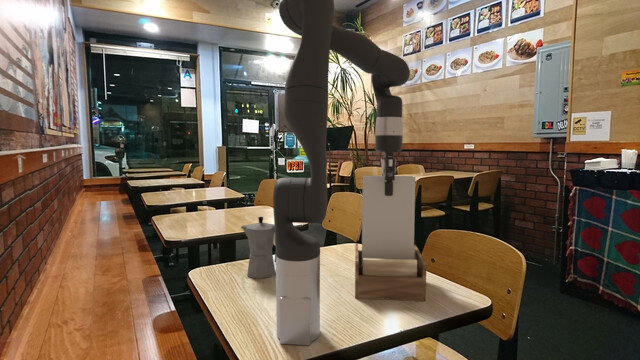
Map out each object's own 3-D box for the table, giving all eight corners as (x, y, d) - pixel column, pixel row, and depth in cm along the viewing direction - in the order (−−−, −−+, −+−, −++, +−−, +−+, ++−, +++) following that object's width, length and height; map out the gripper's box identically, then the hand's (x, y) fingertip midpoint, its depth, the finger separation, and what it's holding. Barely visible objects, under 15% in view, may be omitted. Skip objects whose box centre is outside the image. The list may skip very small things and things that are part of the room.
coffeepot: (235, 277, 108) (233, 218, 107) (248, 266, 118) (247, 213, 116) (283, 281, 105) (283, 221, 103) (293, 270, 114) (292, 215, 113)
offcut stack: (416, 298, 94) (417, 261, 93) (362, 295, 95) (363, 259, 94) (413, 292, 98) (414, 256, 97) (362, 290, 99) (362, 255, 98)
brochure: (410, 277, 105) (412, 175, 103) (413, 284, 100) (415, 176, 98) (361, 276, 106) (362, 175, 104) (362, 282, 101) (363, 176, 99)
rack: (425, 301, 92) (426, 263, 91) (355, 298, 94) (355, 261, 93) (414, 277, 108) (415, 245, 107) (355, 275, 110) (355, 243, 109)
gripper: (406, 133, 93) (404, 198, 94) (399, 134, 107) (398, 191, 108) (376, 133, 93) (375, 197, 95) (374, 135, 108) (373, 191, 109)
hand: (387, 194), depth 102 cm, fingers closed on brochure, 5 cm apart
